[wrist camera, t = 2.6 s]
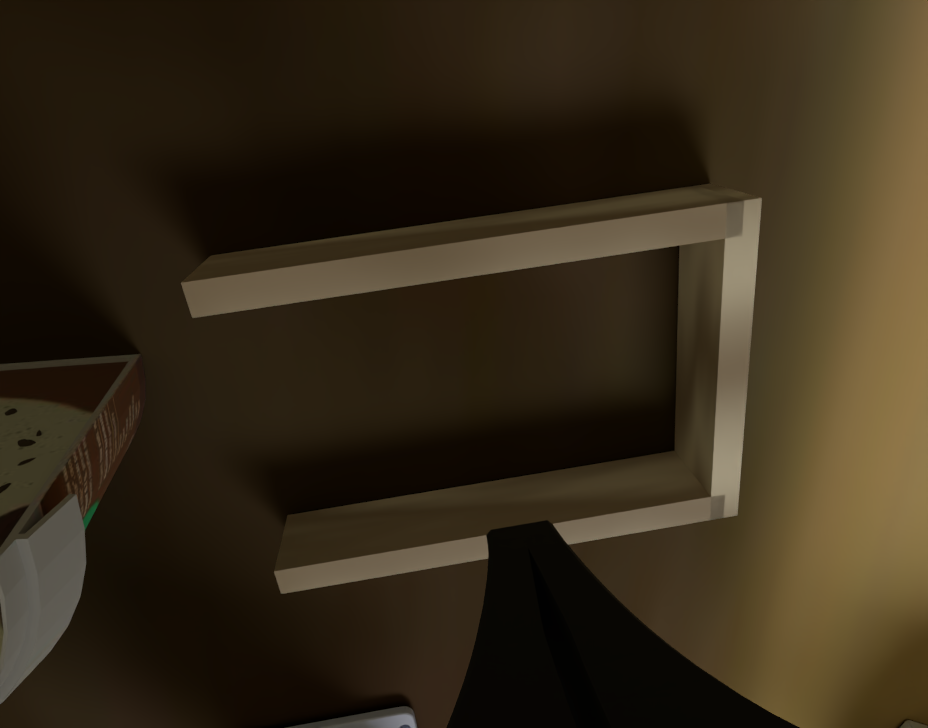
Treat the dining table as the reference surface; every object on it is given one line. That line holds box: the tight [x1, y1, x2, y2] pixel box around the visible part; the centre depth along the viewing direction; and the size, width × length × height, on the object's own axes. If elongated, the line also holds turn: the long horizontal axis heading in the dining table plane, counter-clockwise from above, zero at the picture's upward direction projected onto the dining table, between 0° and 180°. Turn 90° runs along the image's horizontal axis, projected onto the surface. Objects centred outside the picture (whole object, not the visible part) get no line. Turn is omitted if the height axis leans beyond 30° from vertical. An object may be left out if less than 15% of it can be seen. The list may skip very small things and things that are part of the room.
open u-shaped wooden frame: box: [181, 183, 762, 594], centre depth 20 cm, size 11×16×3 cm
